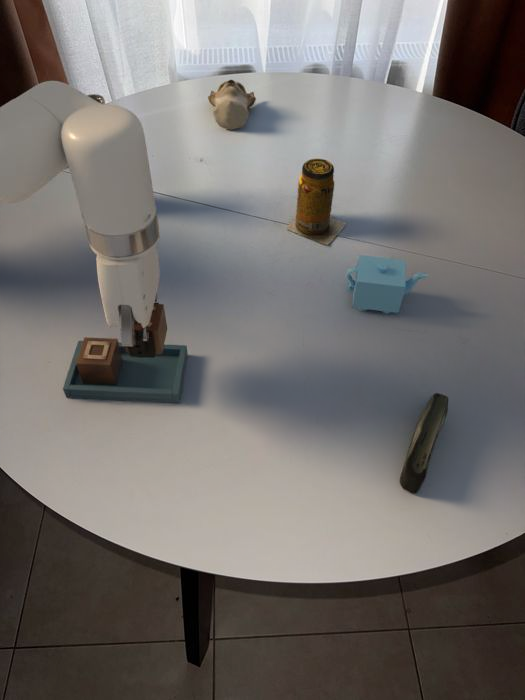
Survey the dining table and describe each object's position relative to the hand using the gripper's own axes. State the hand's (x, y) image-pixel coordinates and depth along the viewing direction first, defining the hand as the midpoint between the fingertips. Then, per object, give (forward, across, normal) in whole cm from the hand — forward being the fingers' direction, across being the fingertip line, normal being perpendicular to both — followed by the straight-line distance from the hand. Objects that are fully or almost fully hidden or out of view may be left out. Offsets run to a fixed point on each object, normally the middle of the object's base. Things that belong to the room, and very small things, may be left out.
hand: (146, 338), depth 75 cm
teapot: (+9, -17, +33) cm, 38 cm away
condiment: (+9, -35, +23) cm, 43 cm away
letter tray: (+8, 0, -4) cm, 9 cm away
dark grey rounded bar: (+9, +9, +36) cm, 39 cm away
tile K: (0, 0, 0) cm, 0 cm away
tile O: (+8, 0, -7) cm, 11 cm away
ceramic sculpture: (+8, -72, +5) cm, 73 cm away
